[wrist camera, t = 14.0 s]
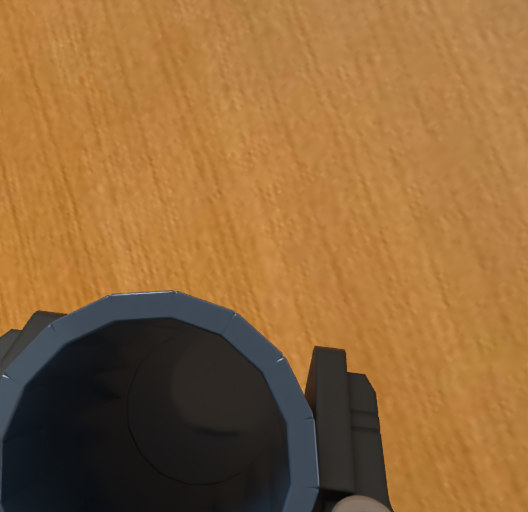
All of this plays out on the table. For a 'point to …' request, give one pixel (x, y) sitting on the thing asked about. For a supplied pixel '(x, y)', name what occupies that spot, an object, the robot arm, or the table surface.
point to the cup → (155, 414)
